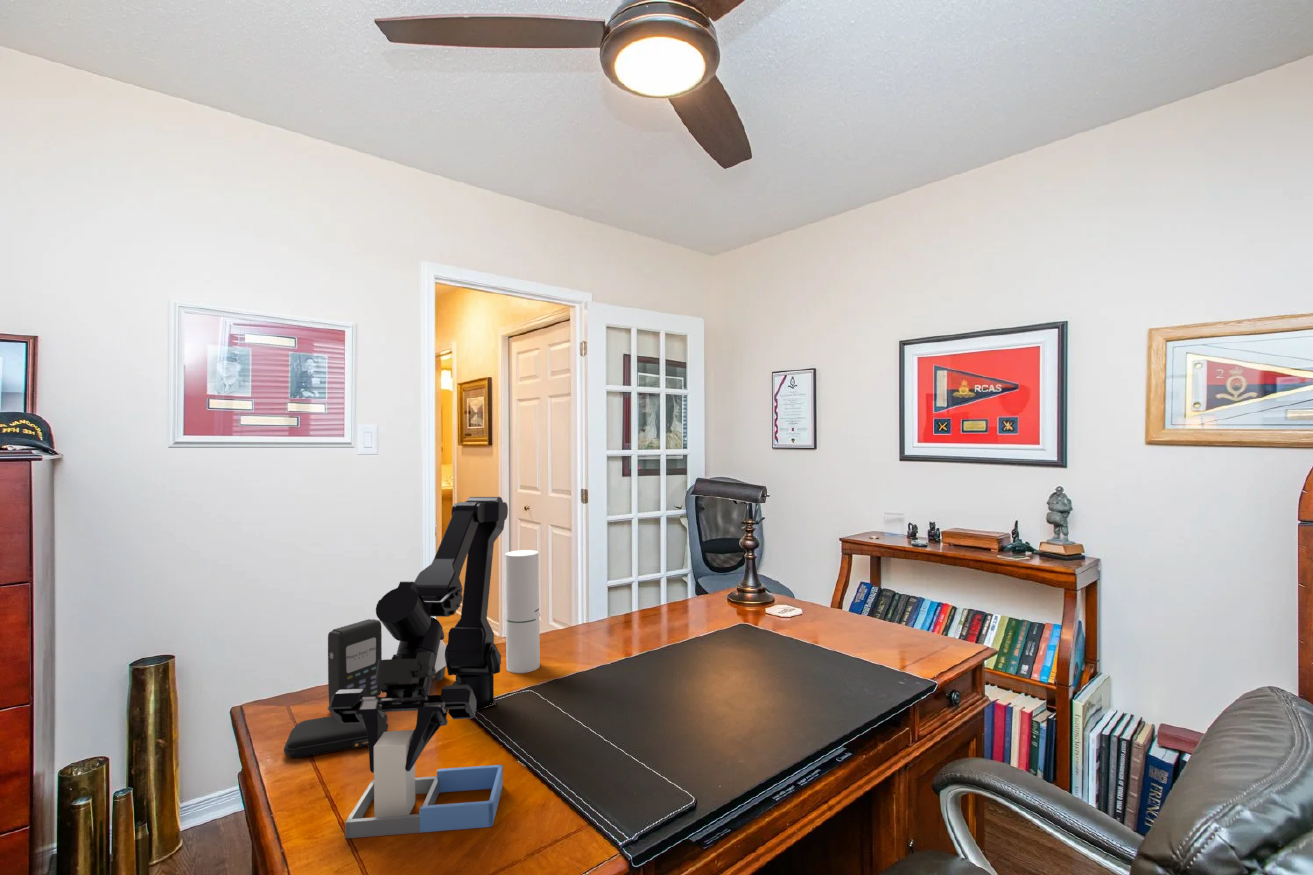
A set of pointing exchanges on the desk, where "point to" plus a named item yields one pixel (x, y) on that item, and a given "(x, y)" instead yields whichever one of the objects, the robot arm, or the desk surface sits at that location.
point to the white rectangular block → (393, 775)
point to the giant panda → (440, 662)
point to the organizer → (433, 814)
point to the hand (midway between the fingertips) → (390, 771)
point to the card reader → (354, 657)
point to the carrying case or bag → (324, 737)
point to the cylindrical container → (522, 611)
